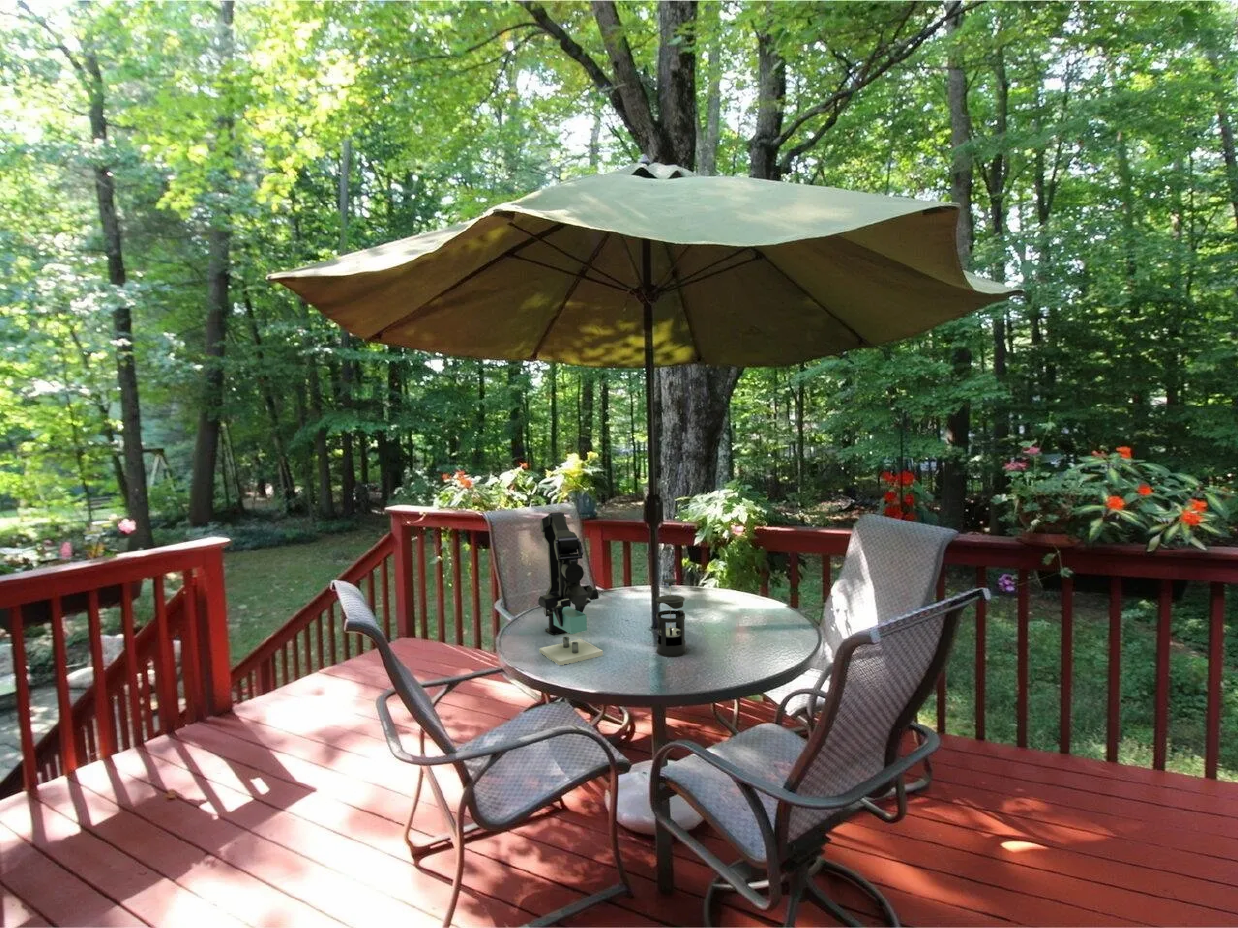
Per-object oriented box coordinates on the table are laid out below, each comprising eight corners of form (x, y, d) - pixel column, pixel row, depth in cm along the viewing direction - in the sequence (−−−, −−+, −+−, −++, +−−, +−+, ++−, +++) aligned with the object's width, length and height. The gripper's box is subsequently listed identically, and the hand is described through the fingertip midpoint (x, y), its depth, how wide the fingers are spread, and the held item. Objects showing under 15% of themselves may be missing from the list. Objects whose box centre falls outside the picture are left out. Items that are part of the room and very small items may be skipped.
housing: (571, 634, 201) (570, 618, 201) (553, 624, 211) (553, 609, 211) (587, 630, 204) (586, 614, 204) (569, 621, 214) (568, 606, 214)
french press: (675, 659, 201) (673, 585, 199) (649, 653, 206) (647, 581, 205) (694, 648, 210) (693, 576, 209) (669, 643, 216) (668, 573, 214)
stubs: (561, 646, 211) (561, 637, 211) (567, 645, 212) (567, 636, 212) (574, 653, 204) (573, 644, 204) (579, 652, 205) (579, 642, 205)
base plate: (539, 652, 210) (539, 648, 210) (580, 643, 218) (580, 638, 218) (559, 666, 198) (559, 661, 198) (602, 655, 206) (602, 650, 206)
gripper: (553, 585, 195) (554, 637, 196) (607, 575, 205) (608, 625, 206) (536, 578, 204) (538, 627, 205) (589, 569, 214) (590, 616, 215)
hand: (569, 624), depth 208 cm, fingers closed on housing, 6 cm apart
